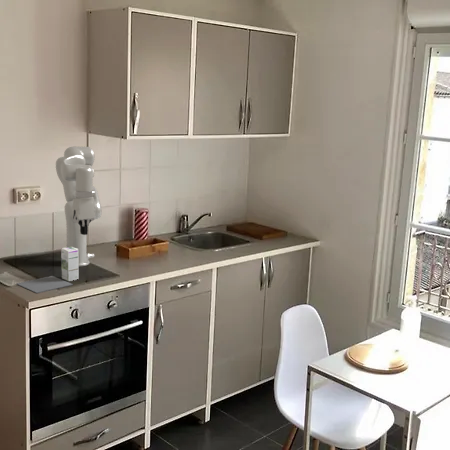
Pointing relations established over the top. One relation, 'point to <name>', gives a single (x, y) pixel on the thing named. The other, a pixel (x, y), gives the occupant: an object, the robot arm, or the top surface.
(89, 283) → the top surface
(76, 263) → the syrup box
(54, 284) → the mat
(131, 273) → the top surface
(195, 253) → the top surface
